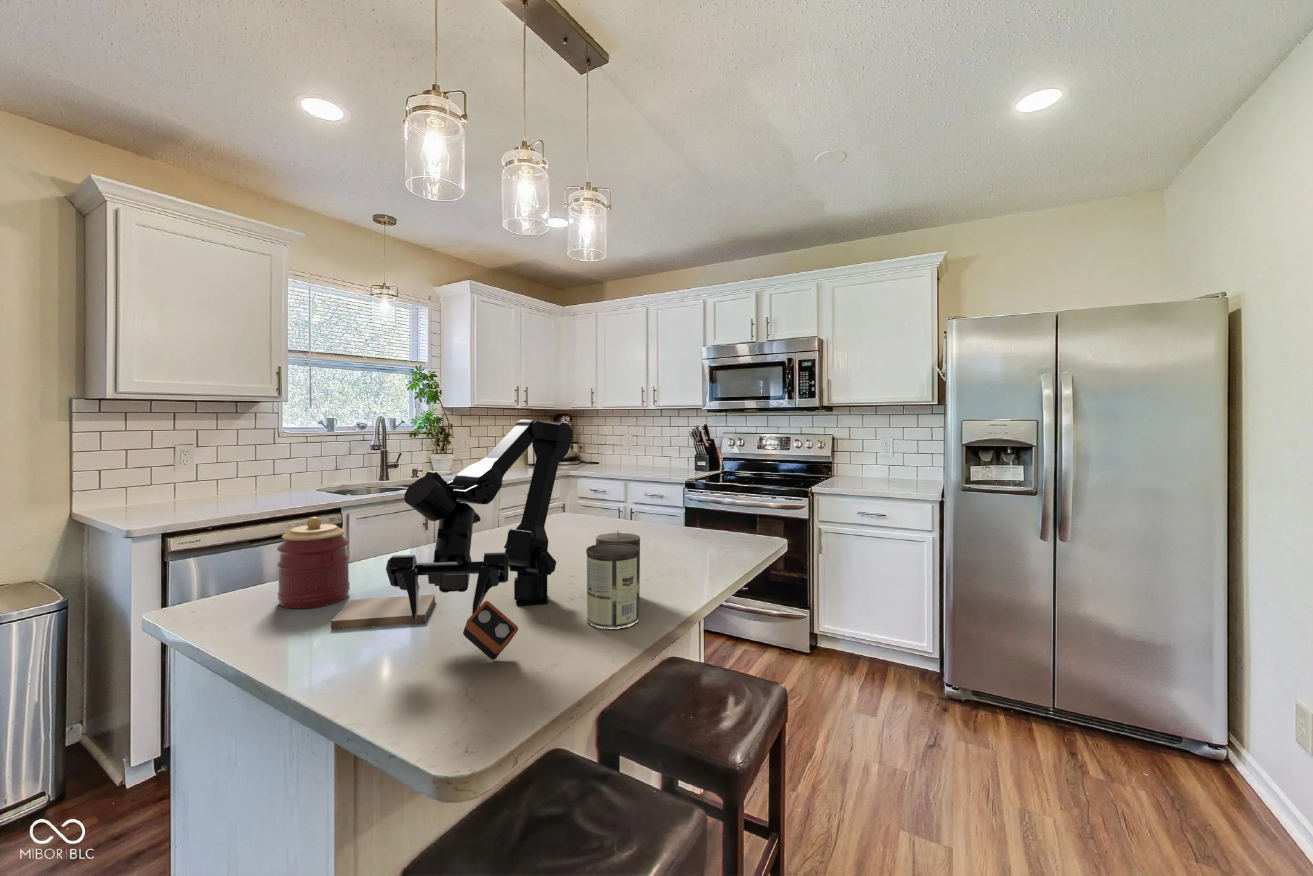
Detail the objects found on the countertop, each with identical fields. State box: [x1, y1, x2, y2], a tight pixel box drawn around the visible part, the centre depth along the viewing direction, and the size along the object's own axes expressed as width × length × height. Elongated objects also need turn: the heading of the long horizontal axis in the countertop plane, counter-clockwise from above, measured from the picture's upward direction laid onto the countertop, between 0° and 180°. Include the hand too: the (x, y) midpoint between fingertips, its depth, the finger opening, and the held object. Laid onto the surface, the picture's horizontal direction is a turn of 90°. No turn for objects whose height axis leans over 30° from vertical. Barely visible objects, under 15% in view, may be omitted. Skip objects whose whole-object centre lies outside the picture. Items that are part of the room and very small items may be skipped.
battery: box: [462, 600, 519, 661], centre depth 85 cm, size 4×7×10 cm
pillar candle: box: [595, 530, 641, 590], centre depth 117 cm, size 10×10×15 cm
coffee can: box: [585, 543, 641, 628], centre depth 105 cm, size 10×10×14 cm
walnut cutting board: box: [330, 594, 436, 630], centre depth 107 cm, size 16×12×2 cm
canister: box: [276, 516, 351, 609], centre depth 115 cm, size 13×13×18 cm
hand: (444, 617), depth 85 cm, fingers open, 8 cm apart
